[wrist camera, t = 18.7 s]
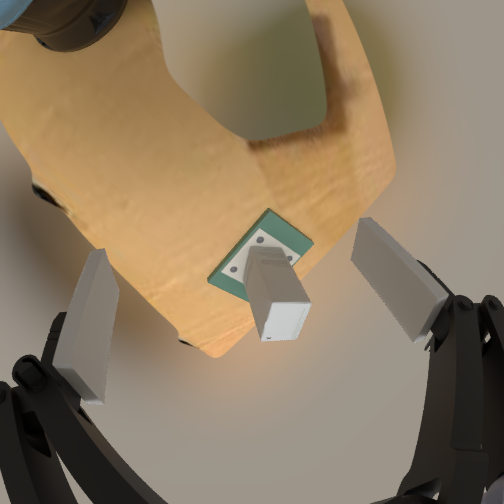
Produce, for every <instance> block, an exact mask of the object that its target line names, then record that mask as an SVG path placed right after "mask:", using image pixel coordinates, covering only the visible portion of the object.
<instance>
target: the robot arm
mask: <svg viewBox="0 0 504 504" xmlns="http://www.w3.org/2000/svg"><path fill="white" fill-rule="evenodd" d="M126 3H127V0H0V30H7V31H15V32H22V33H29V34H33V35H34V37H35V38H36V39H37V41H38V42H39V43H40V44H41V45H42V46H43V47H45V48H47V49H49V50H53V51H58V52H72V51H77V50H80V49H83V48H85V47H87V46H90V45H91V44H93V43H95V42H96V41H98V40H99V39H101V38H102V37H103V36H104V35H106V34H107V33H108V32H109V31H110V30H111V29H112V28H113V26H114V25H115V24H116V23H117V21H118V20H119V18H120V17H121V15H122V13H123V11H124V9H125V6H126ZM351 261H352V262H353V263H354V265H355V266H356V267H357V268H358V270H359V271H360V272H361V273H362V275H363V276H364V277H365V278H366V280H367V281H368V282H369V284H370V285H371V286H372V287H373V289H374V290H375V291H376V293H377V294H378V295H379V297H380V298H381V299H382V300H383V302H384V303H385V305H386V306H387V307H388V309H389V310H390V311H391V313H392V314H393V315H394V317H395V318H396V320H397V321H398V322H399V324H400V325H401V326H402V328H403V329H404V331H405V332H406V334H407V335H408V336H409V338H410V339H411V341H412V342H413V343H415V342H418V341H420V340H422V339H425V337H426V336H427V334H428V332H429V330H431V331H432V333H433V335H432V337H431V339H430V340H429V342H428V343H427V345H426V346H425V349H424V350H427V349H428V347H429V346H430V350H429V352H430V360H429V371H428V381H427V389H426V397H425V404H424V410H423V416H422V422H421V427H420V432H419V436H418V441H417V445H416V450H415V454H414V458H413V461H412V465H411V468H410V470H409V472H408V473H407V474H406V476H405V477H404V478H403V480H402V482H401V484H400V487H399V489H398V492H397V495H396V496H394V497H391V498H388V499H385V500H382V501H378V502H374V503H371V504H504V307H503V305H502V304H501V302H500V301H499V300H498V298H496V297H495V296H491V295H486V296H485V297H484V299H483V300H482V302H481V303H473V302H472V301H471V300H470V299H469V298H467V297H465V296H463V295H457V296H455V295H454V294H453V293H452V292H451V291H450V290H449V289H448V288H447V286H446V285H445V284H444V283H443V282H442V281H441V280H440V279H439V278H437V276H436V275H435V274H434V273H432V271H431V270H430V269H429V268H428V267H427V266H426V265H425V264H423V263H422V262H420V261H419V260H416V259H415V258H414V257H412V255H411V254H409V252H407V251H406V250H405V249H404V248H403V247H402V246H401V245H400V244H399V243H398V242H397V241H396V240H395V239H394V238H393V237H392V236H391V235H390V234H388V233H387V232H386V231H385V230H384V229H383V228H382V227H381V226H380V225H379V224H378V223H376V222H375V221H374V220H373V219H372V218H370V217H368V218H359V223H358V228H357V233H356V238H355V243H354V247H353V252H352V256H351ZM119 293H120V291H119V288H118V286H117V283H116V280H115V278H114V275H113V272H112V269H111V266H110V263H109V260H108V257H107V254H106V251H105V248H104V249H98V250H91V252H90V254H89V256H88V259H87V261H86V264H85V266H84V268H83V271H82V273H81V276H80V278H79V281H78V284H77V286H76V289H75V292H74V294H73V297H72V300H71V303H70V306H69V309H68V311H67V312H60V313H59V314H58V315H57V317H56V318H55V319H54V321H53V323H52V326H51V329H50V333H49V335H48V338H47V341H46V344H45V347H44V351H43V354H42V358H41V361H39V360H38V359H37V358H36V356H34V355H25V356H23V357H21V358H20V359H19V360H18V361H17V362H16V363H15V365H14V367H13V371H12V377H13V380H14V381H15V382H16V383H17V384H18V385H19V386H17V387H13V388H11V387H10V386H9V385H8V384H7V383H6V382H3V381H0V470H1V473H2V477H3V480H4V484H5V487H6V490H7V493H8V496H9V499H10V502H11V504H78V503H77V500H76V499H75V496H74V494H73V492H72V490H71V488H70V486H69V483H68V481H67V479H66V477H65V474H64V472H63V469H62V467H61V464H60V461H59V459H58V456H57V454H58V455H59V457H60V458H61V460H62V461H63V463H64V464H65V466H66V467H67V469H68V470H69V472H70V473H71V475H72V476H73V478H74V479H75V480H76V482H77V483H78V484H79V486H80V487H81V489H82V490H83V491H84V493H85V494H86V495H87V496H88V498H89V499H90V500H91V501H92V503H93V504H168V503H167V502H165V501H164V500H163V499H162V498H161V497H160V496H159V495H157V493H155V492H154V491H153V490H152V489H151V488H150V487H149V486H148V485H147V484H146V483H145V482H144V481H143V480H142V479H141V478H140V477H139V476H138V475H137V474H136V473H135V472H134V471H133V470H132V469H131V468H130V467H129V465H128V464H127V463H126V462H125V461H124V460H123V459H122V458H121V457H120V455H119V454H118V453H117V452H116V451H115V450H114V448H113V447H112V446H111V445H110V444H109V442H107V440H106V439H105V438H104V436H103V435H102V434H101V432H100V431H99V430H98V428H97V427H96V426H95V425H94V423H93V422H92V420H91V419H90V418H89V416H88V415H87V414H86V412H85V411H84V409H83V408H82V407H81V406H80V401H81V398H82V399H83V400H84V401H85V402H86V403H87V404H104V399H105V386H106V377H107V368H108V360H109V352H110V345H111V338H112V332H113V325H114V319H115V314H116V309H117V303H118V298H119ZM488 333H489V334H490V337H491V338H490V339H489V341H488V342H487V343H486V341H485V338H486V336H487V335H488ZM481 447H482V449H481ZM56 452H57V454H56ZM485 487H486V491H487V492H486V493H484V488H485ZM438 492H439V496H438V499H437V500H435V499H432V498H433V496H434V495H435V494H436V493H438ZM483 493H484V494H483Z"/></svg>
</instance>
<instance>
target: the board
mask: <svg viewBox="0 0 504 504" xmlns="http://www.w3.org/2000/svg"><path fill="white" fill-rule="evenodd" d="M313 245H314V243H313V242H312V240H310V239H309V238H308V237H306V236H305V235H304V234H303V233H301V232H300V231H299V230H297V229H296V228H295V227H293V226H292V225H291V224H289V223H288V222H287V221H285V220H284V219H282V218H281V217H280V216H278V215H277V214H276V213H274V212H273V211H272V210H270V209H269V208H268V209H267V210H266V211H265V212H264V213H263V215H262V216H261V217H260V218H259V219H258V220H257V221H256V223H255V224H254V225H253V226H252V227H251V228H250V229H249V231H248V232H247V233H246V234H245V235H244V236H243V237H242V239H241V240H240V241H239V242H238V243H237V244H236V246H235V247H234V248H233V249H232V250H231V251H230V252H229V254H228V255H227V256H226V257H225V258H224V259H223V261H222V262H221V263H220V264H219V265H218V266H217V268H216V269H215V270H214V271H213V272H212V273H211V275H210V276H209V277H208V278H207V280H208V283H210V284H212V285H214V286H216V287H218V288H220V289H222V290H224V291H226V292H229V293H231V294H233V295H235V296H237V297H239V298H241V299H243V300H245V301H247V302H249V299H248V296H247V293H246V289H245V286H244V283H243V277H244V272H245V267H246V263H247V258H248V253H249V249H250V246H259V247H276V248H282V249H283V251H284V253H285V255H286V257H287V258H288V260H289V262H290V264H291V266H293V265H294V264H295V263H296V262H297V261H298V260H299V259H300V258H301V257H302V256H303V255H304V254H305V253H306V252H307V251H308V250H309V249H310V248H311V247H312V246H313Z"/></svg>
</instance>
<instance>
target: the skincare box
mask: <svg viewBox="0 0 504 504" xmlns="http://www.w3.org/2000/svg"><path fill="white" fill-rule="evenodd" d="M243 283H244V286H245V289H246V293H247V296H248V299H249V303H250V306H251V309H252V313H253V316H254V320H255V323H256V326H257V330H258V333H259V336H260V340H261V341H277V340H291V339H297V337H298V334H299V332H300V330H301V328H302V325H303V323H304V321H305V318H306V316H307V313H308V311H309V309H310V307H311V301H310V299H309V298H308V296H307V294H306V292H305V290H304V288H303V286H302V284H301V283H300V281H299V279H298V277H297V275H296V273H295V271H294V269H293V268H292V266H291V264H290V262H289V260H288V258H287V257H286V255H285V253H284V251H283V249H282V248H276V247H259V246H250V249H249V253H248V258H247V263H246V267H245V272H244V277H243Z"/></svg>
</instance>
